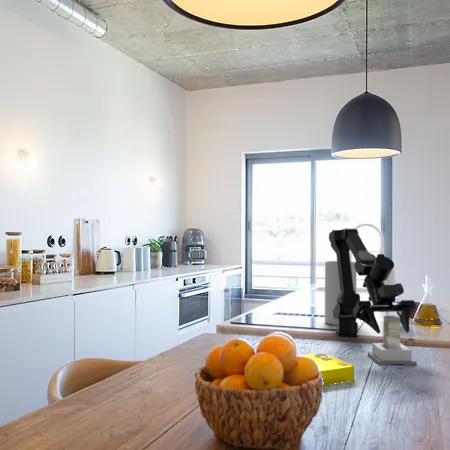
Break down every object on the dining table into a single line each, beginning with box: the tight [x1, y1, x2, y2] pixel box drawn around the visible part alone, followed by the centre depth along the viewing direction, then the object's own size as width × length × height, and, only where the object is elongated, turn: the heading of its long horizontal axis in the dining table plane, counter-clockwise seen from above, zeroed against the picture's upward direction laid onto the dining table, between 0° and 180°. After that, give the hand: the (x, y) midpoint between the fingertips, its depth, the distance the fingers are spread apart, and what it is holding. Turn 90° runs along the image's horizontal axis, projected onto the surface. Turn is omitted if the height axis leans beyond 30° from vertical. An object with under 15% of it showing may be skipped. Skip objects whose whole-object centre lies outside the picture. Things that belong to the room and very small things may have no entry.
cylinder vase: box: [324, 260, 357, 326], centre depth 208 cm, size 12×12×25 cm
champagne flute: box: [379, 267, 396, 323], centre depth 213 cm, size 7×7×24 cm
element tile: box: [300, 352, 355, 386], centre depth 135 cm, size 15×15×5 cm
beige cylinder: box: [382, 315, 401, 349], centre depth 152 cm, size 4×4×12 cm
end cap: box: [367, 342, 418, 366], centre depth 152 cm, size 11×11×4 cm
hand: (393, 332), depth 151 cm, fingers open, 9 cm apart
